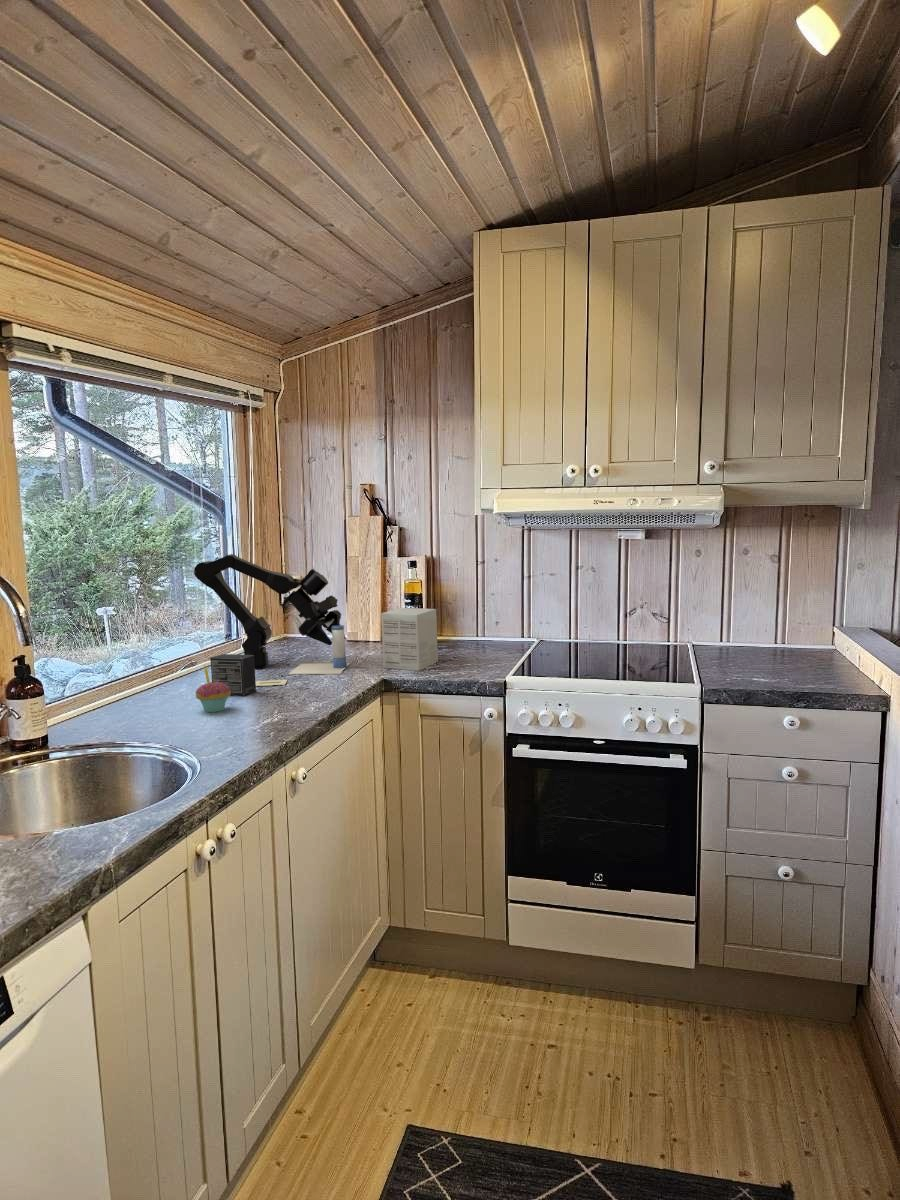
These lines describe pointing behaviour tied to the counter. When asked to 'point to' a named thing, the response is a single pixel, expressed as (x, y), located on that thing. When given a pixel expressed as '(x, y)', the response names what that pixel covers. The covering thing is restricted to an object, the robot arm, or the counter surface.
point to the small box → (234, 672)
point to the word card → (271, 682)
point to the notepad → (317, 668)
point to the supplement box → (409, 638)
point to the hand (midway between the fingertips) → (338, 641)
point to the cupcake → (213, 695)
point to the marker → (338, 647)
